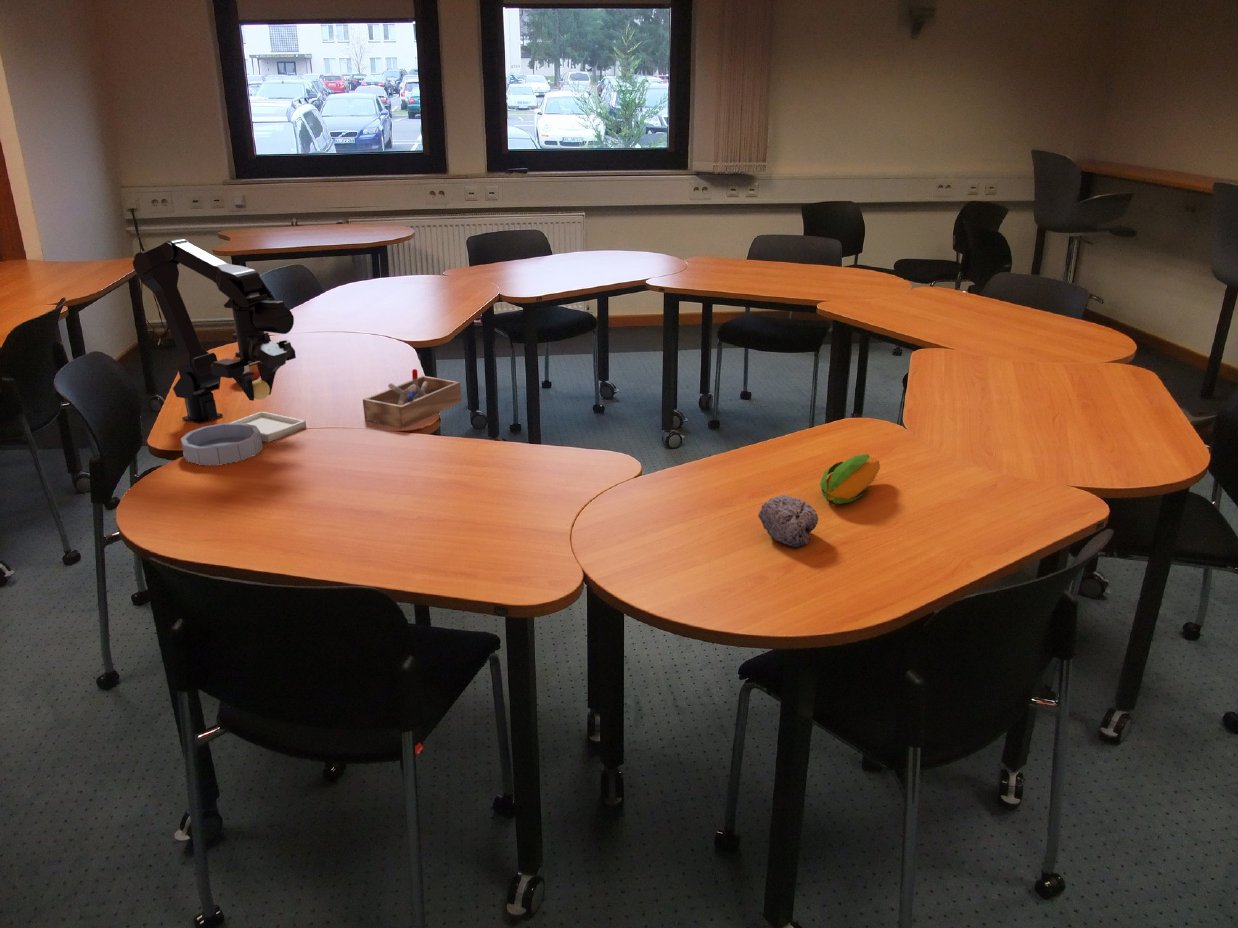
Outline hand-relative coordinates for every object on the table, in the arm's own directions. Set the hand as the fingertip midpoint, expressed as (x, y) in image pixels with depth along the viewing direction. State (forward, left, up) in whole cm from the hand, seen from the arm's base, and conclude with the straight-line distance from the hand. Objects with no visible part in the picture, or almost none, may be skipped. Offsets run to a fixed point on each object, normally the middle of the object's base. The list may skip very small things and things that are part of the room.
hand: (260, 397), depth 202 cm
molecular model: (+21, +26, -8) cm, 35 cm away
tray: (0, 0, -8) cm, 8 cm away
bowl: (+3, -14, -8) cm, 16 cm away
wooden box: (+21, +27, -8) cm, 35 cm away
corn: (+126, +28, -8) cm, 130 cm away
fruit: (-33, +25, -8) cm, 42 cm away
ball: (0, 0, +2) cm, 2 cm away
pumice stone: (+122, +4, -8) cm, 122 cm away
